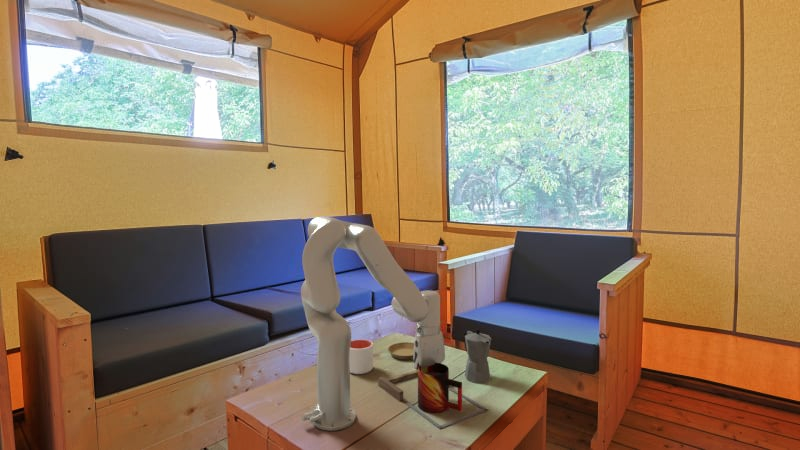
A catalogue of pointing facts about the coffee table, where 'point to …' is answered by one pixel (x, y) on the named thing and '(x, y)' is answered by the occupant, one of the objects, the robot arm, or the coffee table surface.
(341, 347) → the robot arm
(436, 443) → the coffee table surface
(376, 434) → the coffee table surface
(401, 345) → the plant saucer
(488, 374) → the coffeepot
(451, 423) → the frame
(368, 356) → the cup
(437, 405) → the mug
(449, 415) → the coffee table surface
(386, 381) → the frame
